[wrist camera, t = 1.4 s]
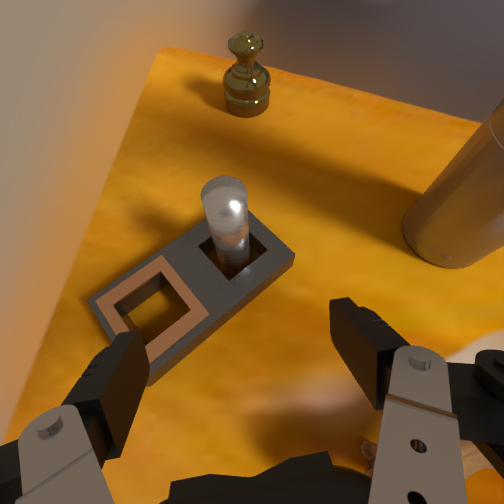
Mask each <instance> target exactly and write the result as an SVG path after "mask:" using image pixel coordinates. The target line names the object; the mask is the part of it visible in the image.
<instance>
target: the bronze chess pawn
mask: <svg viewBox="0 0 504 504" xmlns="http://www.w3.org/2000/svg"><path fill="white" fill-rule="evenodd" d="M263 45H264V44H263V40H262V38H261V37H259V36H258V35H256V34H254V33H251V32H250V31H241V32H240V33H238V34H236V35H234V36H233V37H232V38H230V39H229V41H228V49H229V50H230V51H231V53H233V54H234V55H235V56H236V57H237V61H236V62H235V63H234V64H233V65H232V66H231V67H230V68H229V69H227V71H226V72H225V73H224V76H223V85H224V88H225V90H224V95H225V102H226V107H227V109H228V110H229V111H230V112H231V113H233V114H235V115H237V116H241V117H252V116H256V115H259V114H261V113H263V112H264V111H265V110H266V109H267V108H268V106H269V96H270V89H269V86H270V82H271V77H270V74H269V72H268V70H267V69H266V68H264V67H263V66H261V65H260V64H259V63H258V62H257V61H256V60H255V57H256V55H257V54H258V53H259V52H260V51H261V50H262V49H263Z"/></svg>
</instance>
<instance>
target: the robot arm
mask: <svg viewBox="0 0 504 504" xmlns="http://www.w3.org/2000/svg"><path fill="white" fill-rule="evenodd" d="M403 233H404V236H405V239H406V240H407V242H408V244H409V245H410V247H411V248H412V249H413V250H414V251H415V252H416V253H417V254H418V255H419V256H420V257H422V258H423V259H425V260H427V261H428V262H430V263H433V264H435V265H437V266H441V267H445V268H452V269H457V268H464V267H467V266H470V265H472V264H474V263H475V262H477V261H479V260H481V259H482V258H484V257H486V256H487V255H489V254H491V253H492V252H494V251H496V250H498V249H499V248H501V247H503V246H504V98H503V99H502V101H501V102H500V103H499V104H498V105H497V106H496V108H495V109H494V110H493V111H492V113H491V114H490V115H489V116H488V117H487V119H486V120H485V121H484V122H483V123H482V125H481V126H480V127H479V128H478V129H477V130H476V132H475V133H474V134H473V135H472V136H471V138H470V139H469V140H468V141H467V142H466V144H465V145H464V146H463V147H462V148H461V150H460V151H459V152H458V153H457V154H456V155H455V157H454V158H453V159H452V160H451V161H450V163H449V164H448V165H447V166H446V167H445V169H444V170H443V171H442V172H441V173H440V174H439V176H438V177H437V178H436V179H435V180H434V182H433V183H432V184H431V185H430V186H429V188H428V189H427V190H426V191H425V192H424V193H423V195H422V196H421V197H420V198H419V199H418V201H417V202H416V203H415V204H414V205H413V206H412V208H411V209H410V210H409V211H408V212H407V214H406V216H405V217H404V220H403ZM329 310H330V334H331V339H332V342H333V344H334V346H335V348H336V350H337V351H338V353H339V354H340V356H341V357H342V359H343V360H344V362H345V364H346V365H347V367H348V368H349V370H350V371H351V373H352V374H353V376H354V378H355V379H356V381H357V382H358V384H359V385H360V387H361V388H362V390H363V391H364V393H365V395H366V396H367V398H368V399H369V401H370V402H371V404H372V405H373V407H374V409H375V410H381V409H384V410H383V416H382V422H381V428H380V434H379V441H378V447H377V453H376V459H375V465H374V471H373V478H371V477H369V476H367V475H365V474H363V473H361V472H359V471H356V470H353V469H350V468H347V467H342V466H336V465H333V464H332V462H331V459H330V456H329V454H328V451H325V452H320V453H315V454H310V455H305V456H299V457H294V458H290V459H288V460H286V461H284V462H282V463H280V464H278V465H276V466H274V467H272V468H270V469H268V470H266V471H264V472H262V473H260V474H258V475H256V476H254V477H239V476H228V475H217V474H208V475H203V476H198V477H192V478H187V479H182V480H177V481H172V482H171V485H170V491H169V497H168V499H166V500H164V501H162V502H161V503H159V504H467V496H466V487H465V479H464V470H463V461H462V453H461V444H460V440H467V441H472V443H473V444H474V445H475V446H476V447H477V448H478V450H479V451H480V452H481V453H482V454H483V455H484V457H485V458H486V459H487V460H488V461H489V462H490V464H491V465H492V466H493V467H494V468H495V469H496V471H497V472H498V473H499V474H500V475H501V476H502V478H503V479H504V351H501V350H482V351H480V352H478V353H477V354H476V357H475V364H464V363H450V362H446V361H445V360H444V358H443V357H441V356H440V355H439V354H437V353H436V352H434V351H432V350H430V349H427V348H424V347H420V346H411V345H410V344H409V343H408V342H407V341H406V340H405V339H403V338H402V337H401V336H400V335H399V334H398V333H397V332H396V331H395V330H394V329H393V328H391V327H390V326H389V325H388V324H387V323H386V322H385V321H384V320H382V318H381V317H380V316H378V315H377V314H376V313H375V312H374V311H372V310H369V309H367V308H365V307H358V306H357V305H356V304H355V303H354V302H353V301H352V300H351V299H350V298H349V297H345V298H339V299H332V300H330V303H329ZM149 373H150V364H149V359H148V356H147V352H146V348H145V345H144V341H143V337H142V334H141V332H140V331H139V330H133V331H127V332H120V333H118V334H117V336H116V337H115V339H114V340H113V342H112V344H111V345H110V347H105V348H104V349H103V350H102V351H101V352H99V353H98V354H97V355H96V356H95V357H94V358H93V359H92V361H91V362H90V364H89V365H88V367H87V369H85V371H84V372H83V374H82V377H80V378H79V380H78V381H77V382H76V384H75V385H74V387H73V388H72V390H71V391H70V393H69V394H68V395H67V397H66V398H65V400H64V401H63V403H62V404H61V406H58V407H55V408H53V409H50V410H48V411H46V412H45V413H43V414H41V415H40V416H38V417H37V418H36V419H34V420H33V421H32V422H31V423H30V424H29V425H28V426H27V427H26V428H25V429H24V430H23V432H22V433H21V435H20V437H19V439H17V440H15V441H12V442H10V443H7V444H5V445H2V446H0V504H114V501H113V499H112V496H111V494H110V491H109V489H108V486H107V483H106V481H105V478H104V476H103V473H102V471H101V470H102V467H103V465H104V463H105V460H109V459H115V458H120V456H121V453H122V451H123V448H124V445H125V442H126V439H127V437H128V434H129V431H130V428H131V426H132V423H133V420H134V417H135V414H136V412H137V409H138V406H139V403H140V400H141V398H142V395H143V392H144V389H145V386H146V384H147V381H148V378H149Z"/></svg>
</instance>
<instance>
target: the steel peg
mask: <svg viewBox="0 0 504 504" xmlns="http://www.w3.org/2000/svg"><path fill="white" fill-rule="evenodd" d="M201 200H202V203H203V207H204V210H205V214H206V217H207V221H208V224H209V228H210V231H211V235H212V239H213V242H214V246H215V249H216V253H217V256H218V260H219V263H220V266H221V268H222V269H223V270H224V271H225V272H227V273H229V274H239V273H240V272H241V271H242V270H244V269H245V268H246V267H247V266H249V264H250V248H249V228H248V207H247V190H246V187H245V185H244V184H243V183H242V182H241V181H240V180H239V179H237V178H235V177H231V176H219V177H216V178H213V179H211V180H209V181H208V182H207V183H206V184H205V185H204V186H203V188H202V190H201Z"/></svg>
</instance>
